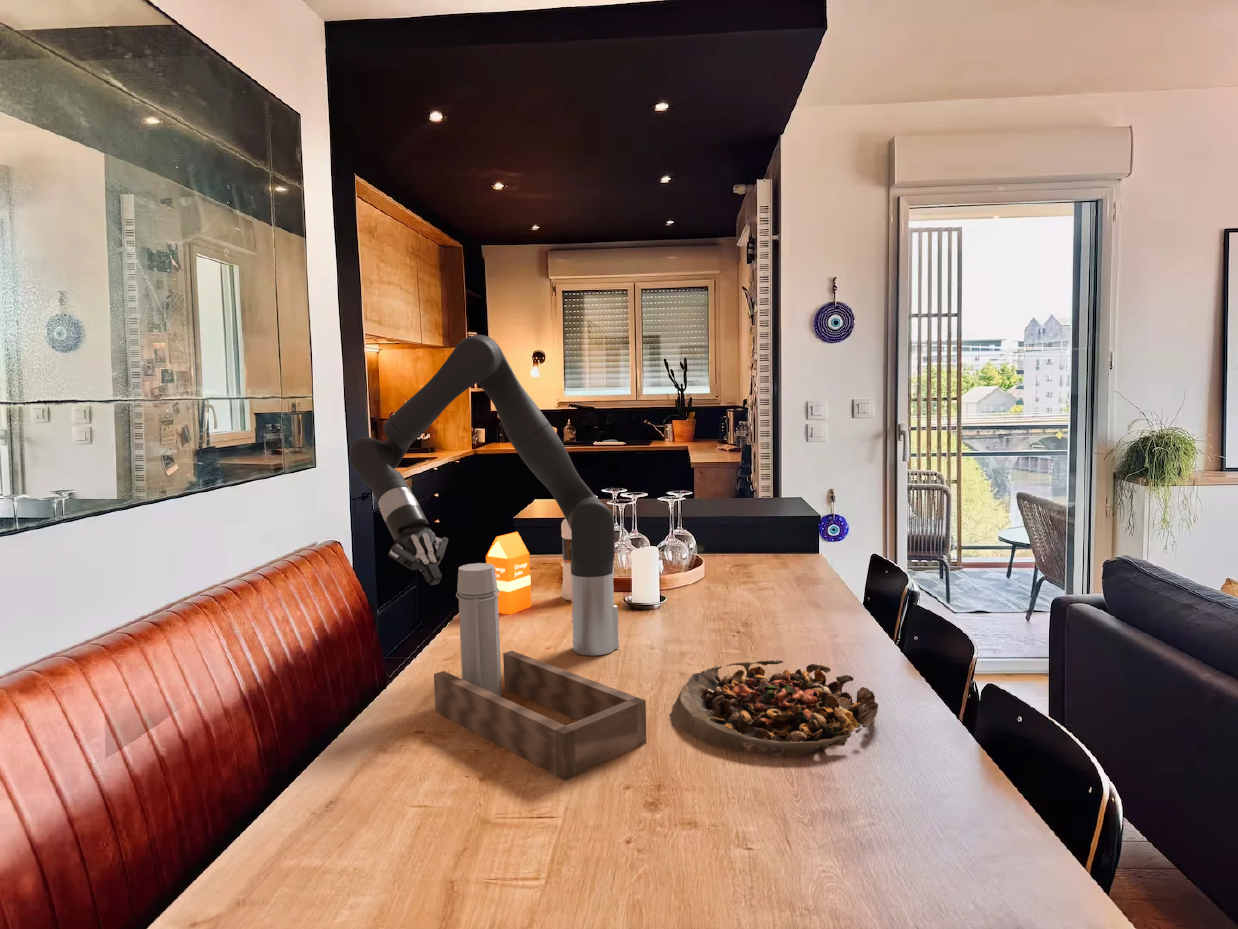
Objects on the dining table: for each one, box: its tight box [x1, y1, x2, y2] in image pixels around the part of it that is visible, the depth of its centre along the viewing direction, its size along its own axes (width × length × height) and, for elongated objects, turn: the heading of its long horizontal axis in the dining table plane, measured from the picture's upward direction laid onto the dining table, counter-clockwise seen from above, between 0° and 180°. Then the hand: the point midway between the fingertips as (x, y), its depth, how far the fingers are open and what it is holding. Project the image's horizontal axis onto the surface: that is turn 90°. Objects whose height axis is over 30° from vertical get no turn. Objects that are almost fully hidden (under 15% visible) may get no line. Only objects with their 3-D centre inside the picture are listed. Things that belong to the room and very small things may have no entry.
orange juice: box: [485, 531, 532, 615], centre depth 205 cm, size 8×9×20 cm
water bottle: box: [455, 562, 503, 697], centre depth 142 cm, size 9×8×25 cm
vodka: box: [560, 518, 572, 602], centre depth 214 cm, size 9×9×30 cm
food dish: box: [668, 659, 879, 756], centre depth 134 cm, size 35×33×8 cm
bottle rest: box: [433, 650, 647, 781], centre depth 132 cm, size 36×17×7 cm, turn 44°
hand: (436, 582), depth 152 cm, fingers closed
